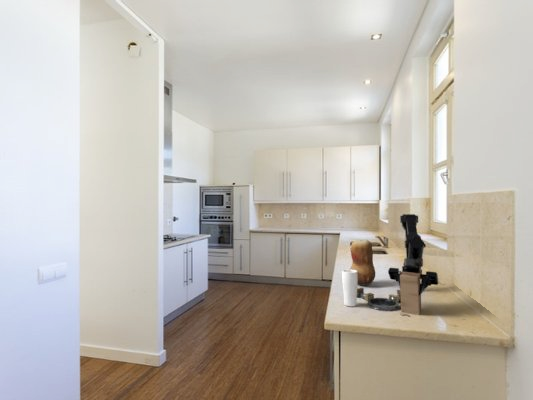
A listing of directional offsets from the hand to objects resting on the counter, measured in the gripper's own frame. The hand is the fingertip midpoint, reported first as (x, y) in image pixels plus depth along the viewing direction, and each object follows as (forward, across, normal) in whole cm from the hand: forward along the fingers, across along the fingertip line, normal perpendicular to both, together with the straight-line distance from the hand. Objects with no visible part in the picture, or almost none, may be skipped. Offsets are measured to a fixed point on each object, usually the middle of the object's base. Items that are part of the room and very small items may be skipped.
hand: (410, 293), depth 123 cm
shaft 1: (0, -21, +10) cm, 23 cm away
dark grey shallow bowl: (+4, -11, +7) cm, 14 cm away
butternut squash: (-17, -30, +28) cm, 44 cm away
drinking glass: (+9, -24, +2) cm, 25 cm away
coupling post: (+4, 0, +6) cm, 7 cm away
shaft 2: (-3, -8, +14) cm, 16 cm away
